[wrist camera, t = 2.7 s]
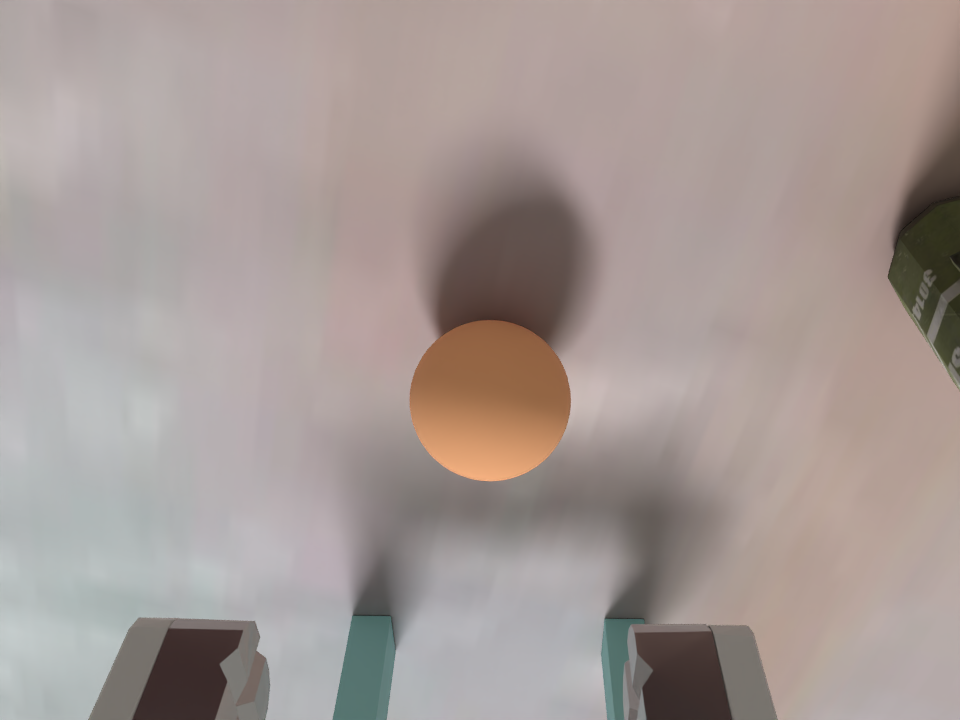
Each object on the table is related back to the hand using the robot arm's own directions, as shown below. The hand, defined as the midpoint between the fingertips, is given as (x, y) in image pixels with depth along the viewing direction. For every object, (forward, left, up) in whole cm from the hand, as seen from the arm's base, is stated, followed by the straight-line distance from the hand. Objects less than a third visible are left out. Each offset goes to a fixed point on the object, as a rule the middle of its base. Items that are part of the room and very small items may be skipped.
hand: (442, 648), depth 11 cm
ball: (0, -10, -18) cm, 21 cm away
